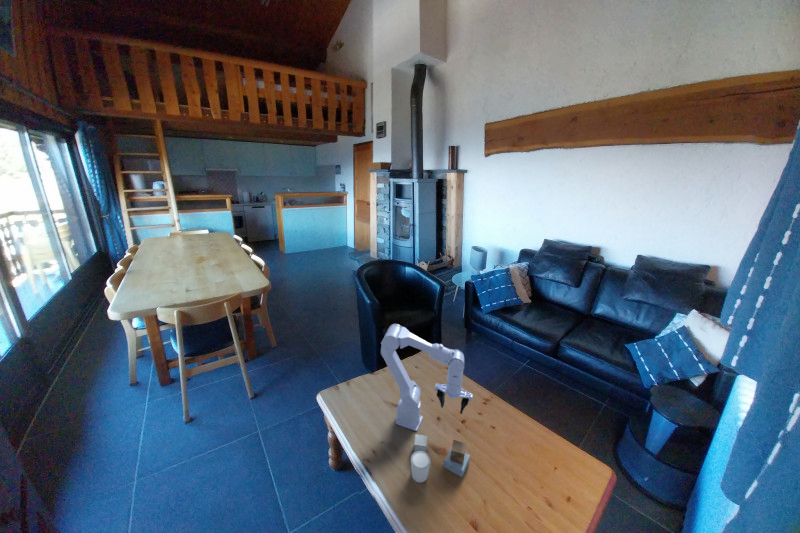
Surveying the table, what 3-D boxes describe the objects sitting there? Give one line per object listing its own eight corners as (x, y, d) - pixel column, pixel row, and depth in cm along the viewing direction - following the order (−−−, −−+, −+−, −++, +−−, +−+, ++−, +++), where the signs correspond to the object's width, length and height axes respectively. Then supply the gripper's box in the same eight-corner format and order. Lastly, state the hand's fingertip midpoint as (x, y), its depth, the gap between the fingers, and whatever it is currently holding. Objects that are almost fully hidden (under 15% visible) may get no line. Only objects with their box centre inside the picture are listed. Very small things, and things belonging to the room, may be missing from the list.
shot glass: (423, 488, 101) (424, 473, 98) (406, 477, 104) (406, 462, 102) (433, 471, 106) (434, 457, 104) (416, 461, 110) (416, 447, 107)
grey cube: (413, 454, 112) (414, 444, 111) (415, 444, 116) (415, 434, 115) (425, 456, 112) (426, 446, 110) (426, 445, 116) (427, 435, 114)
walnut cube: (450, 460, 107) (451, 450, 105) (452, 449, 111) (453, 439, 109) (463, 464, 105) (464, 454, 104) (464, 453, 109) (465, 443, 108)
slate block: (443, 467, 108) (444, 460, 107) (451, 452, 114) (452, 445, 112) (462, 478, 104) (462, 471, 103) (469, 462, 110) (470, 455, 109)
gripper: (433, 382, 115) (431, 410, 119) (471, 393, 109) (468, 422, 114) (438, 371, 121) (436, 398, 125) (475, 381, 115) (471, 409, 120)
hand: (451, 408), depth 120 cm, fingers open, 7 cm apart
